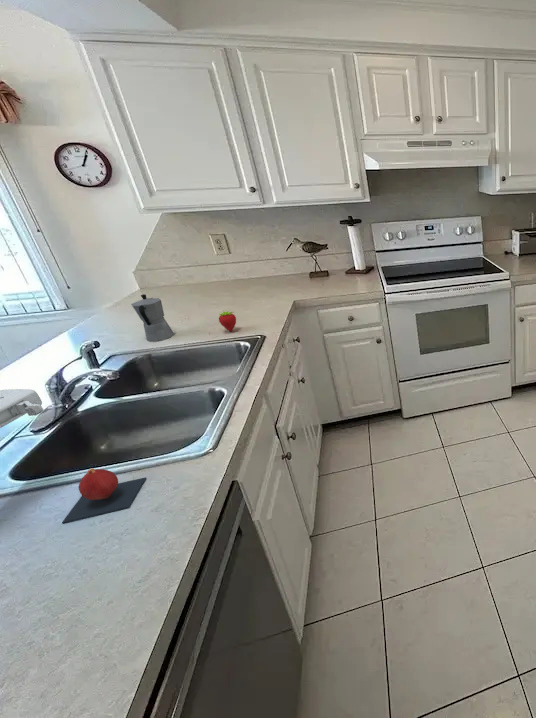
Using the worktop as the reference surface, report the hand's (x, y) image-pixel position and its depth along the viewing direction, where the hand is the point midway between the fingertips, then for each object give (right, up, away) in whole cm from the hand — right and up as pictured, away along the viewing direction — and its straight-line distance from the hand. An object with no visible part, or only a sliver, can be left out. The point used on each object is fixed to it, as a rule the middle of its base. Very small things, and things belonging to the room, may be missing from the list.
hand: (14, 424), depth 78 cm
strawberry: (-18, +20, +90) cm, 94 cm away
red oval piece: (+10, -18, +9) cm, 22 cm away
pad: (+10, -18, +9) cm, 22 cm away
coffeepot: (-43, +17, +86) cm, 98 cm away
